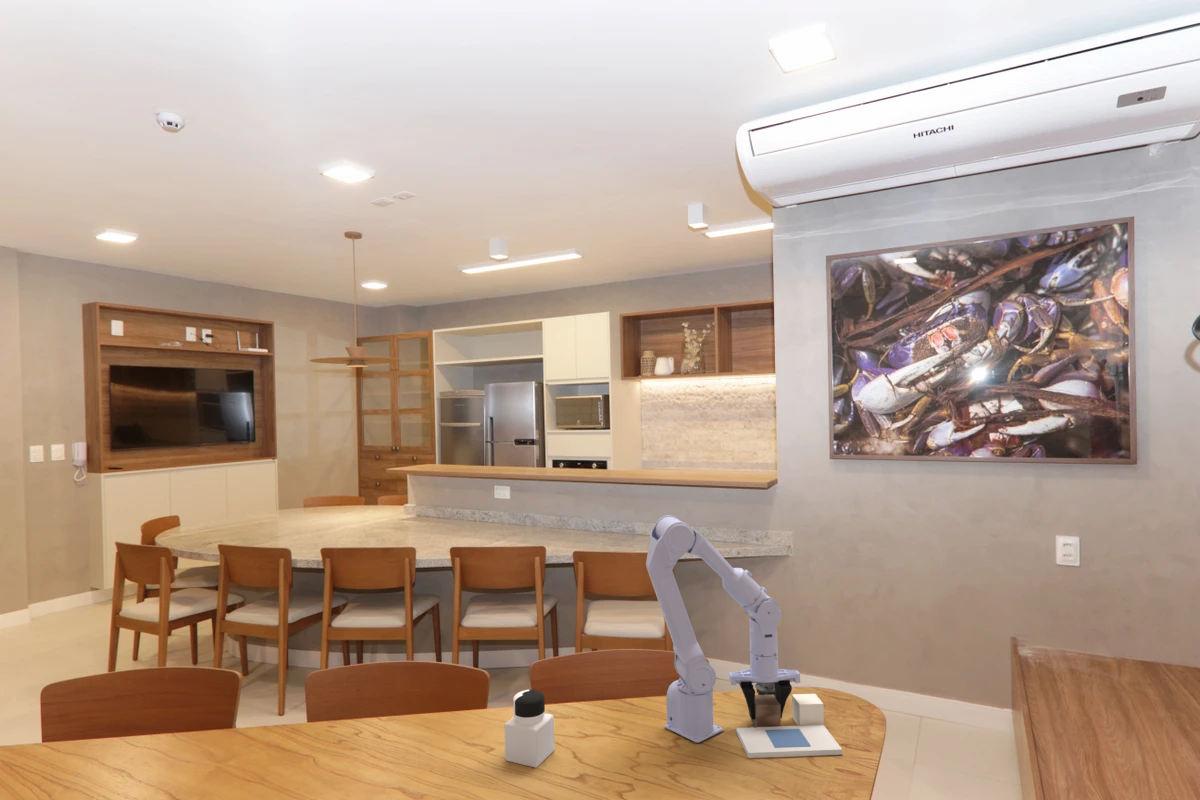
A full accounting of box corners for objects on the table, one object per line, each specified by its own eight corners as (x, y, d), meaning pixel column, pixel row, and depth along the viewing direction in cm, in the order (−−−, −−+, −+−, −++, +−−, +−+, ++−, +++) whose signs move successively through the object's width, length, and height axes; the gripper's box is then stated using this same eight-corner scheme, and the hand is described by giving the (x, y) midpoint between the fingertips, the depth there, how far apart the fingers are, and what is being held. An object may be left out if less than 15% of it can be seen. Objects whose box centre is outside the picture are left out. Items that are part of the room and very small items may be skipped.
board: (748, 758, 128) (748, 752, 128) (736, 732, 138) (736, 727, 138) (842, 754, 129) (842, 748, 129) (823, 729, 139) (823, 724, 139)
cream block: (800, 728, 139) (799, 704, 139) (792, 717, 144) (791, 694, 144) (824, 728, 140) (823, 703, 140) (815, 717, 145) (815, 693, 145)
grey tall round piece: (785, 708, 149) (783, 653, 149) (758, 708, 149) (756, 653, 149) (778, 696, 155) (777, 644, 155) (752, 697, 155) (751, 644, 155)
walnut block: (756, 729, 139) (756, 705, 139) (750, 718, 144) (750, 695, 144) (781, 729, 139) (780, 704, 139) (774, 718, 144) (773, 694, 144)
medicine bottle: (555, 750, 133) (553, 689, 133) (536, 768, 126) (535, 704, 126) (523, 743, 136) (522, 683, 136) (504, 761, 129) (503, 698, 129)
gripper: (792, 644, 146) (793, 707, 146) (725, 646, 146) (727, 709, 146) (802, 656, 139) (804, 722, 139) (732, 658, 139) (734, 725, 139)
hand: (765, 717), depth 142 cm, fingers closed on walnut block, 5 cm apart
